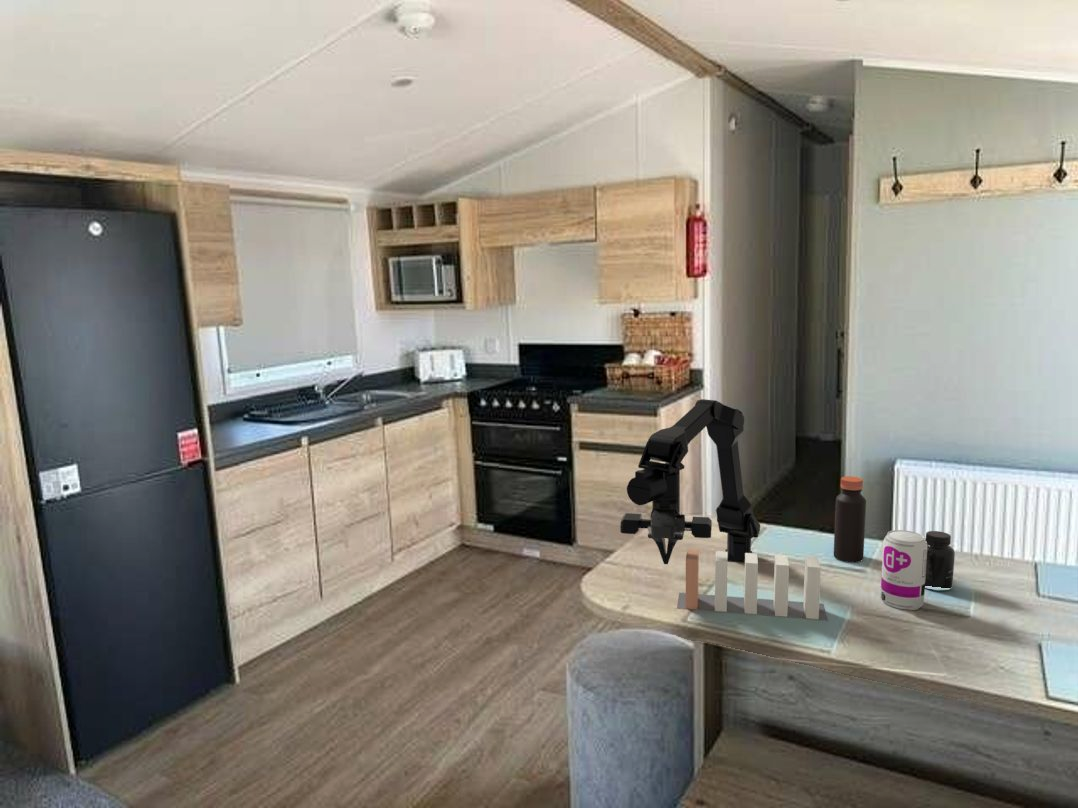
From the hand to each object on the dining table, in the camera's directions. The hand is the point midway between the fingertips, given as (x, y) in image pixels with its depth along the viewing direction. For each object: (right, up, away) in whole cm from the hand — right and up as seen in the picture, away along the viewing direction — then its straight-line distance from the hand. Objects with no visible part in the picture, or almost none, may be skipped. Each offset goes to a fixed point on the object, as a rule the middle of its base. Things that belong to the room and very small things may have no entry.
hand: (666, 563), depth 159 cm
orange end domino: (+6, -8, 0) cm, 10 cm away
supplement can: (+49, -8, -2) cm, 50 cm away
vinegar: (+49, -4, +24) cm, 54 cm away
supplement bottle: (+61, -7, +6) cm, 62 cm away
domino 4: (+29, -9, -6) cm, 31 cm away
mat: (+17, -9, -2) cm, 20 cm away
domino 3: (+23, -9, -4) cm, 25 cm away
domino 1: (+11, -9, -1) cm, 14 cm away
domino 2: (+17, -9, -3) cm, 19 cm away
